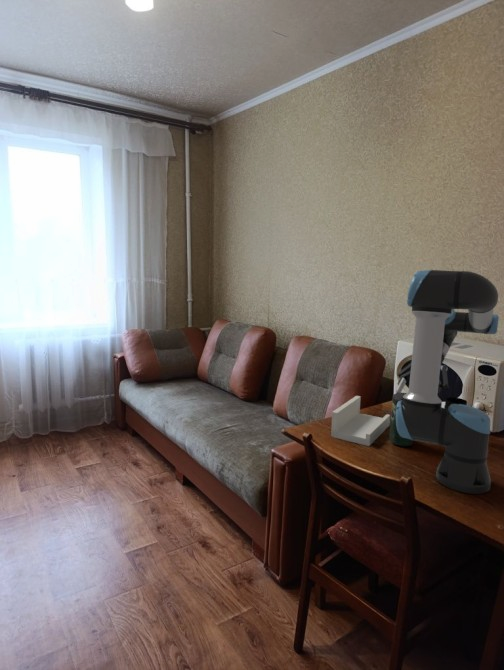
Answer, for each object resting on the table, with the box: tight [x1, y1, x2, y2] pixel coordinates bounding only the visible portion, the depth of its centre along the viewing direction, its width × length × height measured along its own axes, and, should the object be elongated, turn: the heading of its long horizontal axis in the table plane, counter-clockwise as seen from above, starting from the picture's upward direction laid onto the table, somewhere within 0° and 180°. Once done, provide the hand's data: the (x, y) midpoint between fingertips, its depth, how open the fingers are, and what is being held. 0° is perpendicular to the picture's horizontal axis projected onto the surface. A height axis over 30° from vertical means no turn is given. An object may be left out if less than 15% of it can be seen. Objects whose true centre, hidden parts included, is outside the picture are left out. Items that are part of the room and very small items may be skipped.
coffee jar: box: [388, 392, 413, 447], centre depth 162 cm, size 10×8×19 cm
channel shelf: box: [330, 395, 391, 447], centre depth 173 cm, size 26×15×10 cm, turn 147°
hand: (413, 397), depth 166 cm, fingers open, 13 cm apart
